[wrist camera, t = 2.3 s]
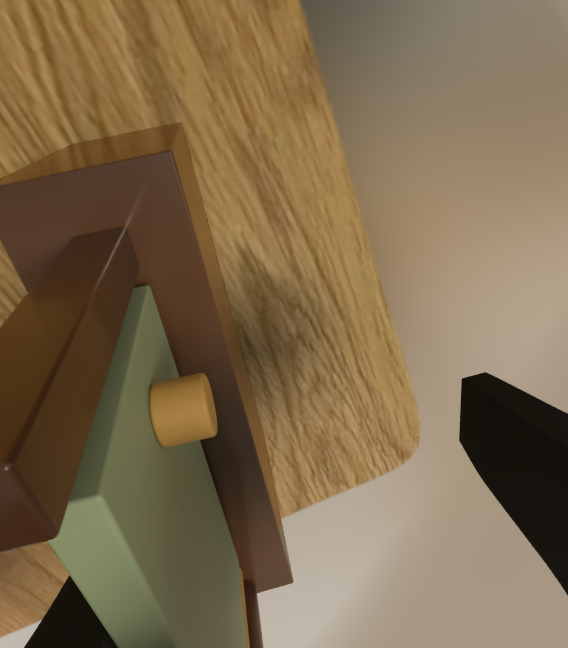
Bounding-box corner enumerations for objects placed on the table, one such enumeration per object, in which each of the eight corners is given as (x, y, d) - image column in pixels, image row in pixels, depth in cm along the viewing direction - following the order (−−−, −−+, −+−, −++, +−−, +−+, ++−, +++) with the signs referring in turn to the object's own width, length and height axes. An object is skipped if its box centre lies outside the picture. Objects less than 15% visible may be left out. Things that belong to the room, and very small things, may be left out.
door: (271, 568, 16) (308, 805, 11) (222, 581, 16) (235, 827, 10) (193, 275, 10) (192, 476, 5) (114, 290, 10) (25, 515, 5)
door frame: (265, 439, 24) (349, 859, 11) (192, 457, 24) (190, 911, 11) (181, 121, 16) (125, 279, 3) (71, 144, 16) (-524, 426, 3)
